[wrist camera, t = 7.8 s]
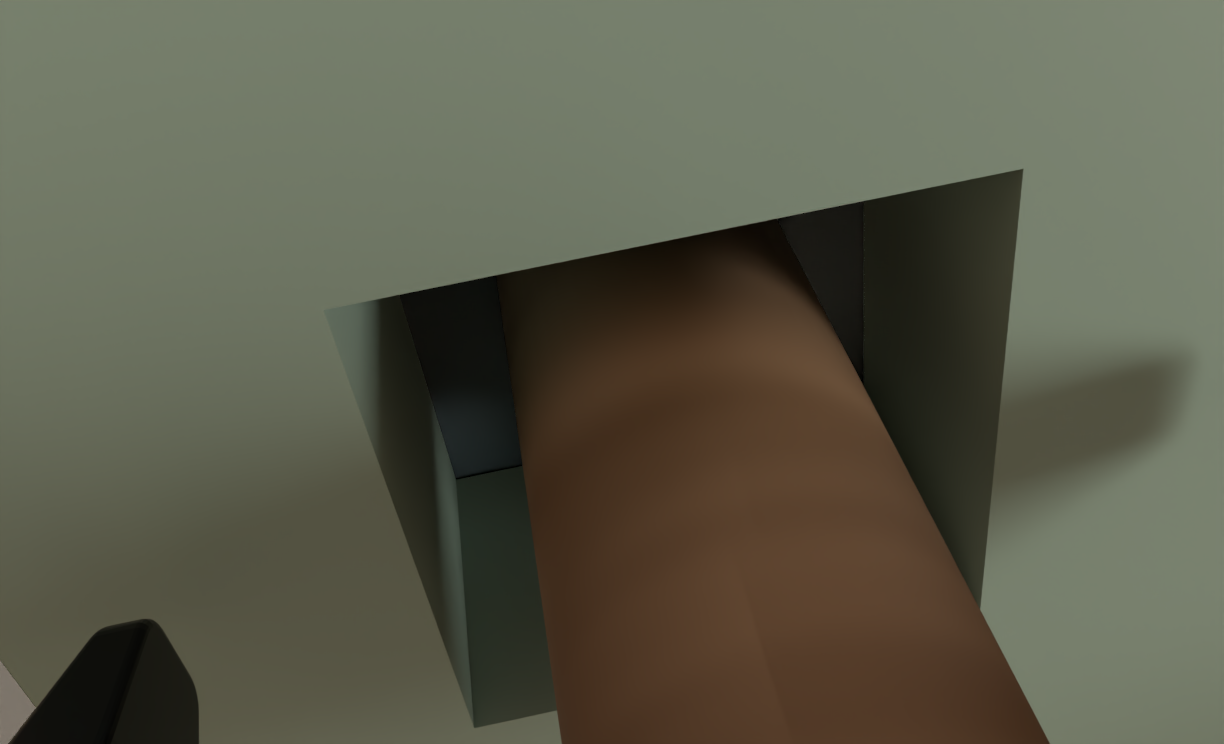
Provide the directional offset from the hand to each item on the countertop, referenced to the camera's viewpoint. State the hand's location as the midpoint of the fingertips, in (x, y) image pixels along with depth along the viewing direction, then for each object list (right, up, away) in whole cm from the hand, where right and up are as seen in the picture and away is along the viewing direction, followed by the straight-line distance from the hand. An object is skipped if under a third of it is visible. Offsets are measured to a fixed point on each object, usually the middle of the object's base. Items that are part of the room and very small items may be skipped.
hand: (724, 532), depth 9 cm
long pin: (-1, +2, +3) cm, 4 cm away
